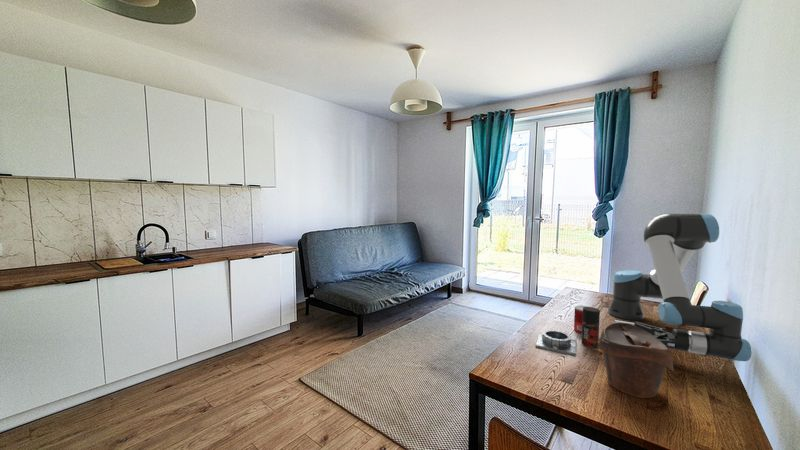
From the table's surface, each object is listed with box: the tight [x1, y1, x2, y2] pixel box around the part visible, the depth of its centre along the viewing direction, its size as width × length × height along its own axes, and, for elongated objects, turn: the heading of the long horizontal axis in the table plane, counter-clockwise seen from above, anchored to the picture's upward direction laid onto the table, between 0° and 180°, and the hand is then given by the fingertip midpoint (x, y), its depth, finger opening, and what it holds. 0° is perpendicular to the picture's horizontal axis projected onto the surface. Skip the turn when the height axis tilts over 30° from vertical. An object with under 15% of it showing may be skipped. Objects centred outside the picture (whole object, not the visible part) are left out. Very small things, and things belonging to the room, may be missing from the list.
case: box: [598, 322, 675, 399], centre depth 98 cm, size 18×20×18 cm
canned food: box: [573, 305, 589, 335], centre depth 141 cm, size 8×8×11 cm
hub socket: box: [535, 329, 577, 356], centre depth 128 cm, size 14×14×4 cm
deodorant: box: [581, 306, 601, 349], centre depth 128 cm, size 6×6×15 cm
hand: (616, 329), depth 123 cm, fingers open, 13 cm apart
